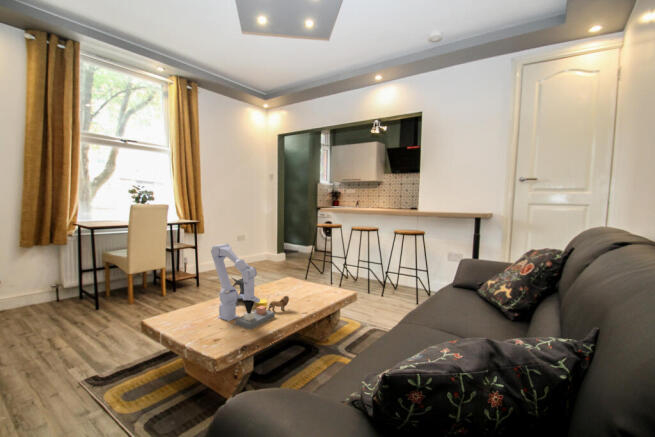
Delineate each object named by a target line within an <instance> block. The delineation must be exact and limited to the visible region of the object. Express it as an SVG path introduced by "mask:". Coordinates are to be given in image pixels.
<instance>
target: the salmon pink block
mask: <svg viewBox="0 0 655 437" xmlns="http://www.w3.org/2000/svg"><path fill="white" fill-rule="evenodd" d="M255 310H256V314H259V315H263V314H265V313H266V310H267V306H265V305H259V306H257V307H256V309H255Z"/></svg>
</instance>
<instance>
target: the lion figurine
mask: <svg viewBox="0 0 655 437" xmlns="http://www.w3.org/2000/svg"><path fill="white" fill-rule="evenodd" d="M289 301H290V297H289V296H288V295H284V296H283V298H281V299H280V300H278V301H277V300H273V301H271V302H269V305H268V309H267V310H268V311H271V309H272V312H275V313H276V312H277V311H275V309H276V308H275V307H277V308H280V310H281V311H282V312H286V310H285V307H286V306H288V304H289Z"/></svg>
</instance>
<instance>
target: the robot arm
mask: <svg viewBox="0 0 655 437" xmlns="http://www.w3.org/2000/svg"><path fill="white" fill-rule="evenodd" d="M210 250H211V251H210V253H211V256H212V260H213V263H214V266H215V269H216V273H217V276H218V280H219V284H220V286H221V290H220V291H219V292H218V294H219V301H220V304H219V307H218V312H219V314H218V316H217V318H219V319H222V320H225V321H227V322H231V321H232V320H235V319H237V318H239V317H240V315H238V314H236V312H237V308H236V307H237V306H236V302H237V299H238V298H242V299H243V300H244V301H243V302H242V304H243V305H244V307H245V310H246V312H247V313H251V312H252V311H253V307H254V304H255V303H256V304H258V303H261V298H259V297H257V296H255V277H256V276H257V273H258V272H257V269H256V267H254V266H250V265H249V264H248V263H247V262H246V261H245V260H244V259H242V258H241V259H240V258H239V257H238V256H237V255H236V254H235V252H234V251H233V250H232V246H231V245H230V244H229V243H223V244H216V245H213V246H212V247H211V249H210ZM226 258H228V259H229V260H230V261H231V262H233V263H234V268H236V270H238V271H239V272H240V273H241V277H242V278H243V282H244V294H240V295H239V291H237V288H236V286H234V287H233V285H232V284H231V280H230V277H229V273H228V271H227V268H226V264H225V259H226ZM242 278H241V279H242Z"/></svg>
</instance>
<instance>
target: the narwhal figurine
mask: <svg viewBox="0 0 655 437" xmlns="http://www.w3.org/2000/svg"><path fill="white" fill-rule="evenodd" d="M231 279H232V280H233V281H234V282H235V283H234V284H233V285H232V286H233V287H236V286H239V292H238V294H239V295H240V294H244V282H243V278H239V279H236V278H234V277H231ZM243 301H244V300H243V299H242V298H238V299H237V302H236V307H237V306H238V304H239V303H243Z"/></svg>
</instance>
